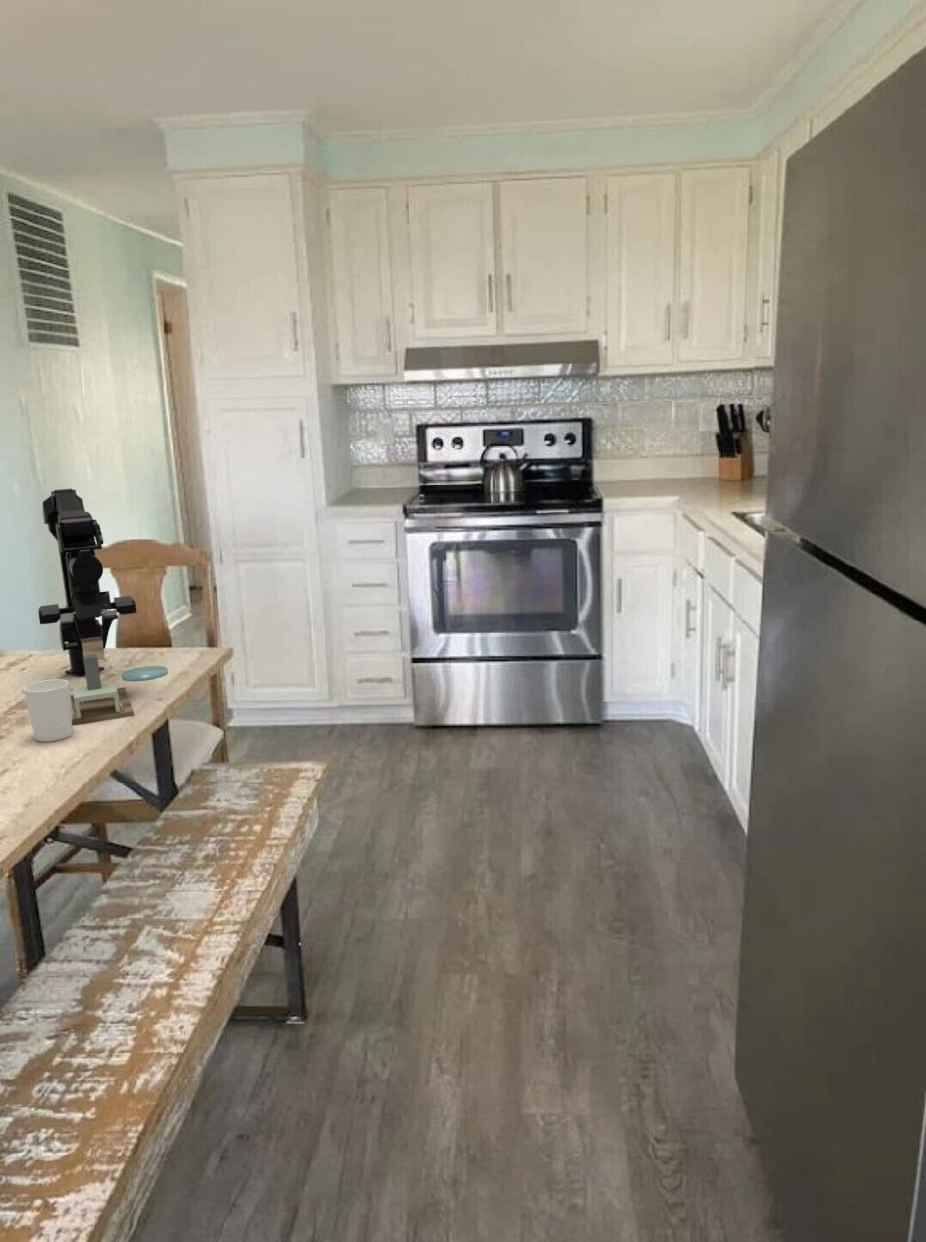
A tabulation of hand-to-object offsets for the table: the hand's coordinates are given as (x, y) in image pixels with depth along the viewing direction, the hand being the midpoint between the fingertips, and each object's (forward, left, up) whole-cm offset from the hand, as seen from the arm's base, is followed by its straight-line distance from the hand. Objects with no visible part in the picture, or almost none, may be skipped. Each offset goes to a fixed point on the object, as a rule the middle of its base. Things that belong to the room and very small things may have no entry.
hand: (93, 649), depth 206 cm
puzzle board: (+6, -4, -11) cm, 13 cm away
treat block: (0, 0, -2) cm, 2 cm away
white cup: (+13, -19, -11) cm, 25 cm away
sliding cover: (+11, -7, -9) cm, 16 cm away
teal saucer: (-7, +16, -11) cm, 21 cm away
